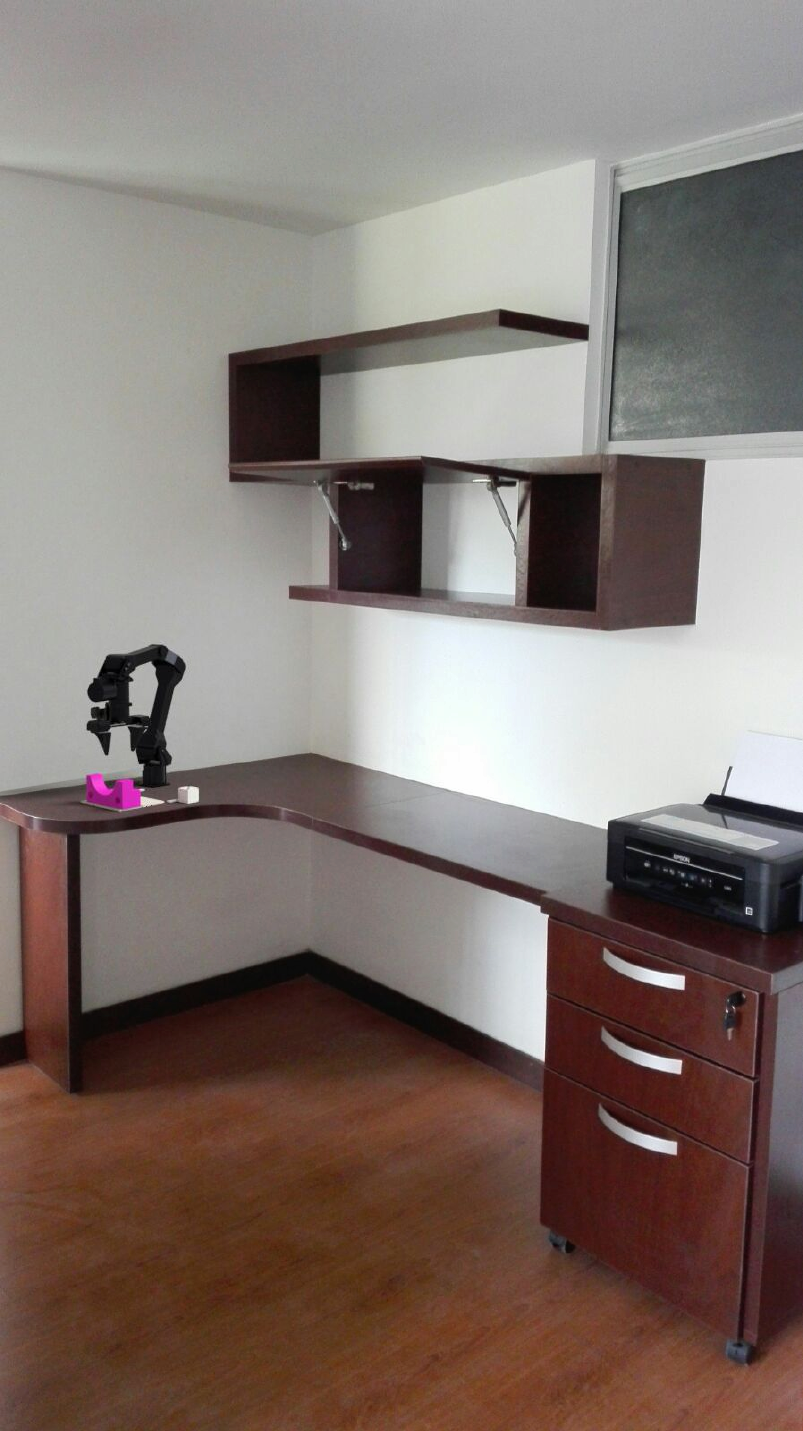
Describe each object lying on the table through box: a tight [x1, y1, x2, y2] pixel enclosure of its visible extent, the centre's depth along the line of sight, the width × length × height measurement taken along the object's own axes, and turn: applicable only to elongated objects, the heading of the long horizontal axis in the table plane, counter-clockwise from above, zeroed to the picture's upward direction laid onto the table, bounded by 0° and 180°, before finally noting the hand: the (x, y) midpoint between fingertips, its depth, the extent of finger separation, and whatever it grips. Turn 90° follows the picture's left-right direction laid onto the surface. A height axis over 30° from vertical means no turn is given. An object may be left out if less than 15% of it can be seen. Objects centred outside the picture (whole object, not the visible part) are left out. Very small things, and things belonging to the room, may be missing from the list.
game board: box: [80, 788, 178, 813], centre depth 331 cm, size 22×19×1 cm
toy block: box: [85, 772, 142, 810], centre depth 324 cm, size 15×6×8 cm, turn 53°
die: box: [177, 785, 200, 805], centre depth 331 cm, size 4×4×4 cm
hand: (119, 753), depth 337 cm, fingers open, 9 cm apart
